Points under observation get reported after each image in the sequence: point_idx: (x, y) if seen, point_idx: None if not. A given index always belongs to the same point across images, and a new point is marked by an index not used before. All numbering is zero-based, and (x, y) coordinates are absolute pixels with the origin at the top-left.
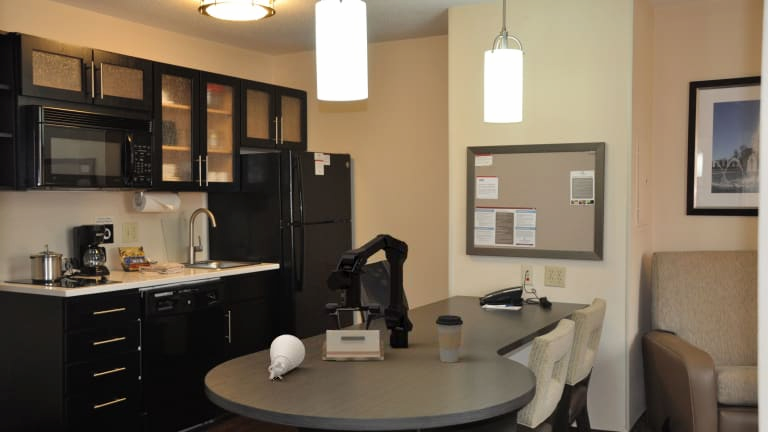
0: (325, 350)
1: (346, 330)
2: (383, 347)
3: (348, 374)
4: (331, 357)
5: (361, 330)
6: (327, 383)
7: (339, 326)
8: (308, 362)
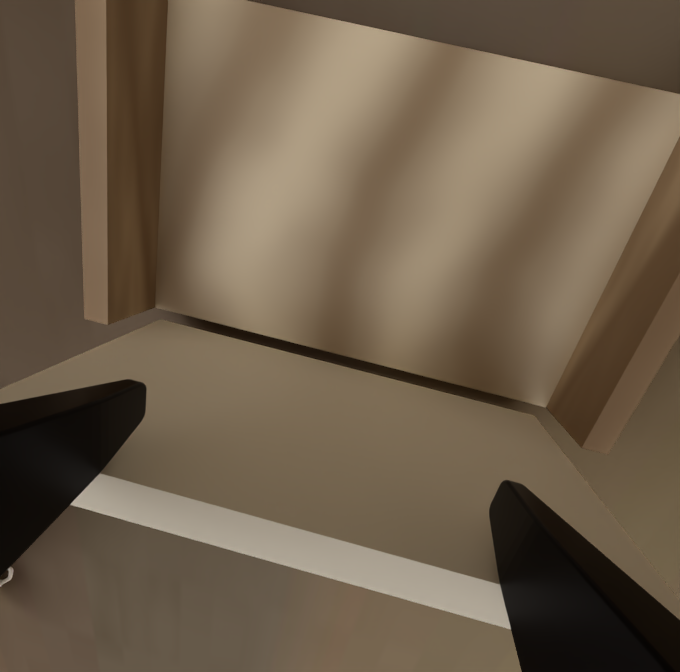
0: (125, 291)
1: (200, 517)
2: (622, 430)
3: (270, 593)
4: (198, 317)
5: (421, 580)
6: (177, 662)
7: (47, 519)
8: (71, 321)
